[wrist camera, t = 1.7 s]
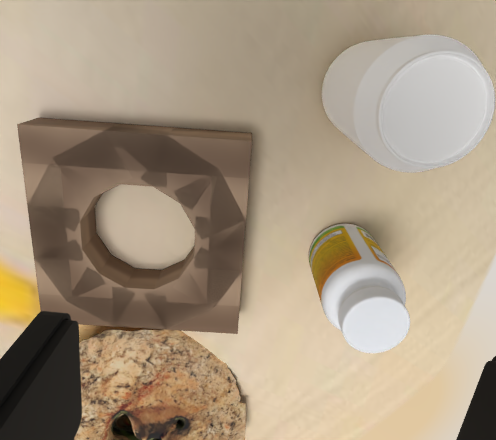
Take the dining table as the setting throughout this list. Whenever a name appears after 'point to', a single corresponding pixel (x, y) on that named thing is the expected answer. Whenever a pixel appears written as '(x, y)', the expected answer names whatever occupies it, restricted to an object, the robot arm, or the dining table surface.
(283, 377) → the dining table surface
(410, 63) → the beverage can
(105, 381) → the holed granite stone
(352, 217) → the dining table surface
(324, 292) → the supplement bottle
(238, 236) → the can holder
